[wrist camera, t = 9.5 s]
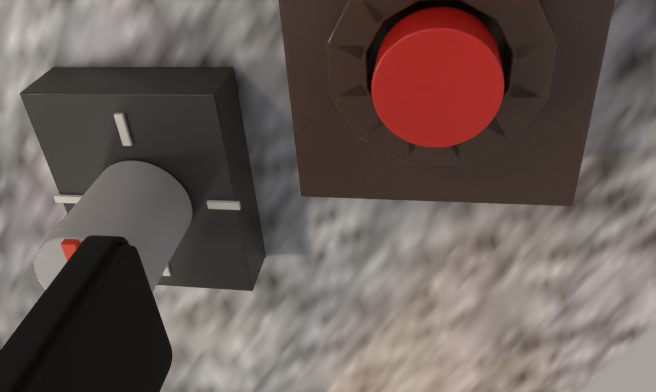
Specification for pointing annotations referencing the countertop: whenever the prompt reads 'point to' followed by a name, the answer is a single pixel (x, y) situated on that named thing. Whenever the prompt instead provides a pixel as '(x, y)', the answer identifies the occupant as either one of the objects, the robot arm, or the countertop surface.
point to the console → (160, 155)
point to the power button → (438, 77)
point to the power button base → (467, 157)
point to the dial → (123, 219)
